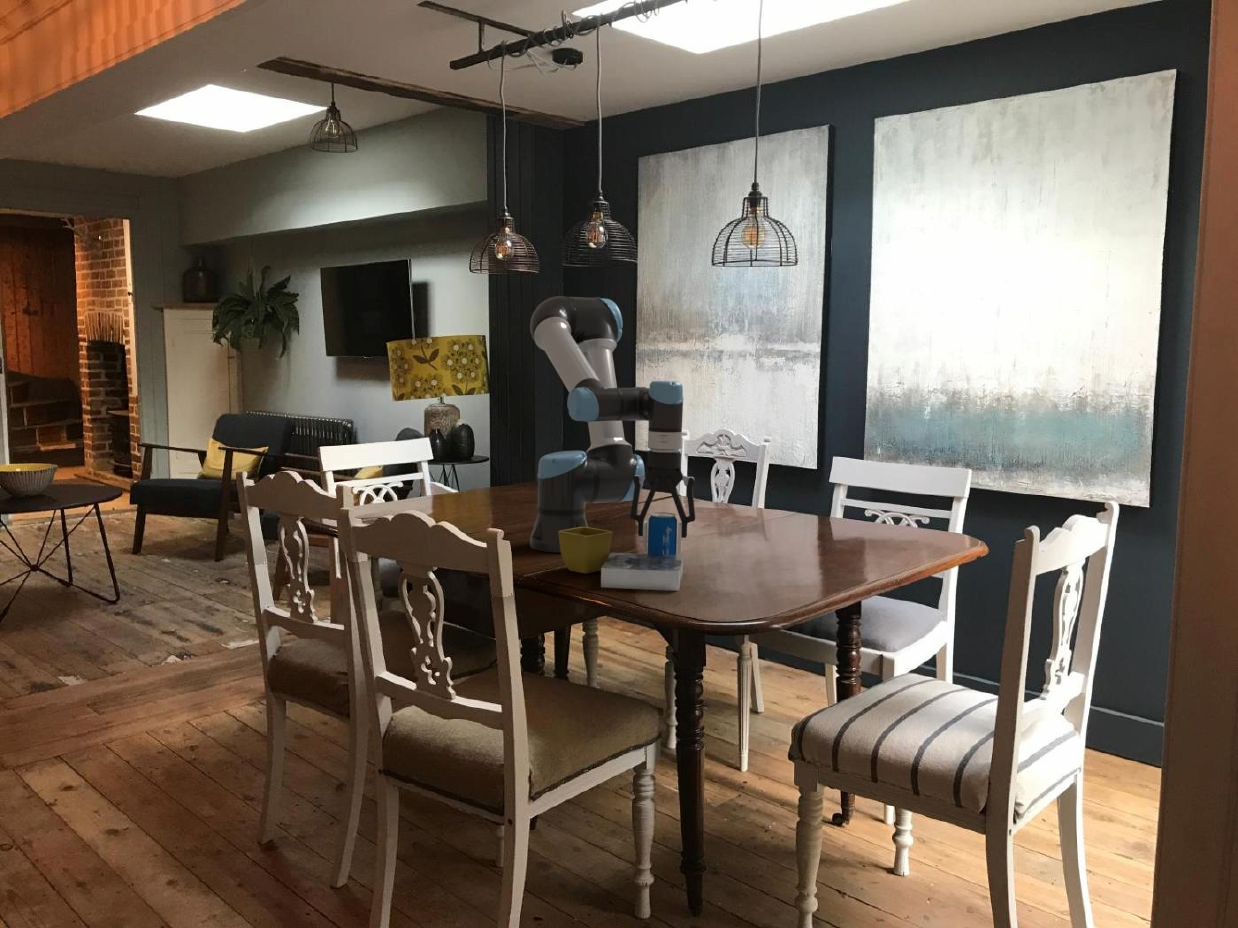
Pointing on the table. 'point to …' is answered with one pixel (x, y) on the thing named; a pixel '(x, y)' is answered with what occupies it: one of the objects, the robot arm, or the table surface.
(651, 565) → the jig
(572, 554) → the flower pot
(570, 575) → the table surface
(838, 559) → the table surface
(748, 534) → the table surface
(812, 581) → the table surface
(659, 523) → the beverage can
